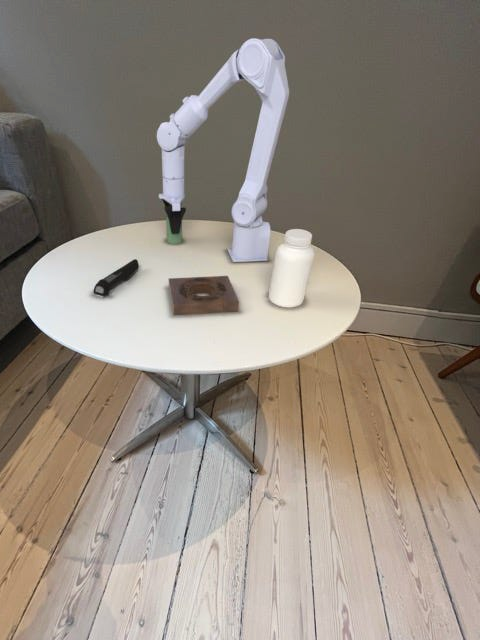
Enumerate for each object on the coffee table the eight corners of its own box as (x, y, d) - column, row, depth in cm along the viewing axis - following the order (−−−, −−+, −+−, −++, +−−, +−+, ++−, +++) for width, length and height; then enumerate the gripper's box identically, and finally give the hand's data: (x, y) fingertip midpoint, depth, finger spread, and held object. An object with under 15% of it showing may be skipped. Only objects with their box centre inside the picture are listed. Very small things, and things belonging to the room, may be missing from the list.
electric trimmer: (143, 272, 97) (142, 259, 95) (105, 298, 87) (104, 285, 85) (131, 268, 99) (129, 256, 97) (92, 294, 88) (90, 281, 86)
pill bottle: (282, 311, 84) (296, 243, 74) (261, 295, 89) (271, 229, 79) (310, 303, 87) (327, 236, 76) (288, 288, 92) (301, 223, 82)
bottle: (181, 238, 114) (181, 202, 107) (182, 243, 111) (182, 207, 104) (166, 238, 113) (165, 202, 107) (167, 244, 110) (166, 207, 103)
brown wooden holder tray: (227, 285, 92) (227, 275, 91) (237, 311, 84) (239, 301, 82) (168, 288, 91) (168, 278, 89) (173, 315, 82) (173, 304, 80)
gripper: (156, 169, 105) (158, 220, 115) (159, 184, 95) (162, 239, 104) (182, 169, 106) (182, 220, 115) (188, 184, 96) (187, 238, 105)
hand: (174, 229), depth 110 cm, fingers open, 6 cm apart
